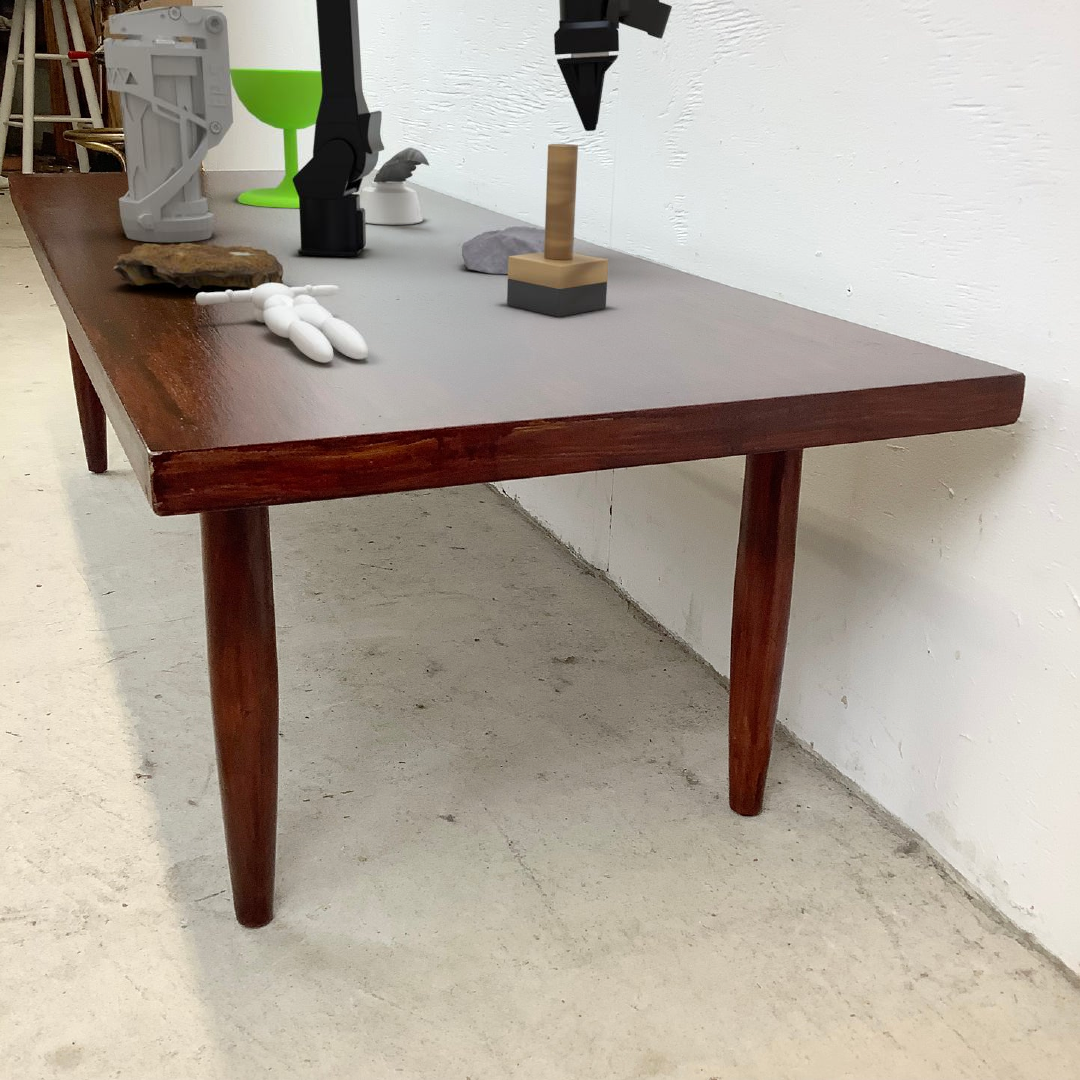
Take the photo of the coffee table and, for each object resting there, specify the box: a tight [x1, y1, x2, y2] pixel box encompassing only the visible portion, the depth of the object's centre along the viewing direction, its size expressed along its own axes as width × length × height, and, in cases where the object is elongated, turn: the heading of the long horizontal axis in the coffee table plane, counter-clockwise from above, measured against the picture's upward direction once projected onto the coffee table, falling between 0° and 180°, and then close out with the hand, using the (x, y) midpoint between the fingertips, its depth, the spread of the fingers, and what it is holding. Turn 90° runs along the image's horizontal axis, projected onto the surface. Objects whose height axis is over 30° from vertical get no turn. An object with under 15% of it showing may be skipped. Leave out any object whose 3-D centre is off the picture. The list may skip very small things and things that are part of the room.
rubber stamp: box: [506, 143, 609, 318], centre depth 103 cm, size 6×6×14 cm
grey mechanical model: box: [103, 5, 234, 243], centre depth 132 cm, size 13×10×25 cm
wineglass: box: [230, 68, 322, 209], centre depth 169 cm, size 16×16×18 cm
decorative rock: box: [113, 242, 284, 290], centre depth 107 cm, size 11×4×15 cm
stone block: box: [461, 226, 545, 275], centre depth 125 cm, size 12×5×10 cm
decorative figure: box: [195, 283, 369, 364], centre depth 90 cm, size 4×12×18 cm
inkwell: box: [359, 147, 430, 226], centre depth 151 cm, size 9×18×10 cm, turn 32°
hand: (591, 127), depth 122 cm, fingers open, 9 cm apart
